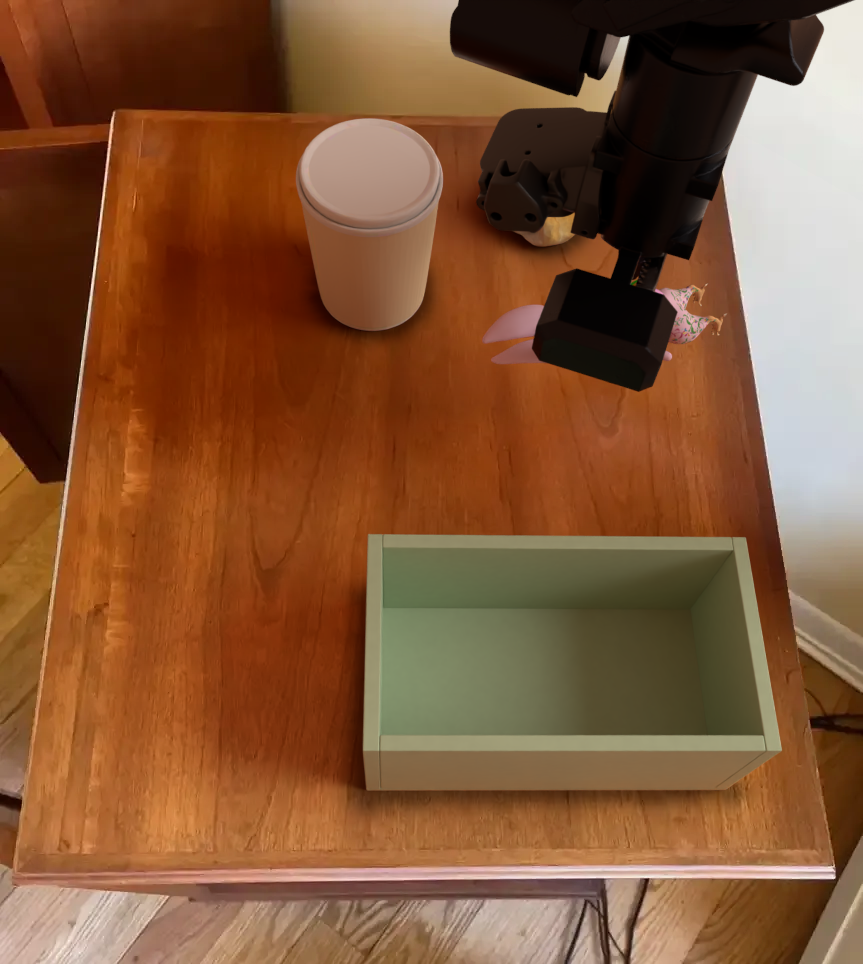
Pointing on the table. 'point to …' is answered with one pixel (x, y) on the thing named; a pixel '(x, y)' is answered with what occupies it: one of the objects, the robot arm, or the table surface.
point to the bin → (563, 663)
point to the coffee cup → (370, 219)
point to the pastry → (551, 232)
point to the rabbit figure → (526, 317)
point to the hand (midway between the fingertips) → (610, 323)
